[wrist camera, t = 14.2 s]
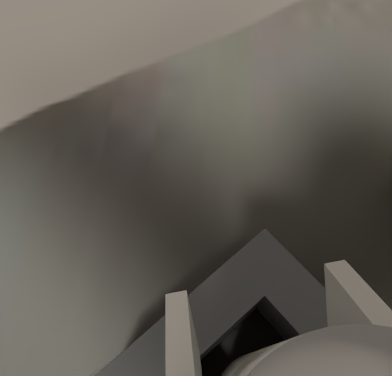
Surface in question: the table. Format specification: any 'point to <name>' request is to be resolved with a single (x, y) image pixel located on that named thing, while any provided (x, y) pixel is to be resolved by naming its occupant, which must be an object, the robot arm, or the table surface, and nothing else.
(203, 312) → the socket
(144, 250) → the table surface
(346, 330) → the translucent white cylinder
